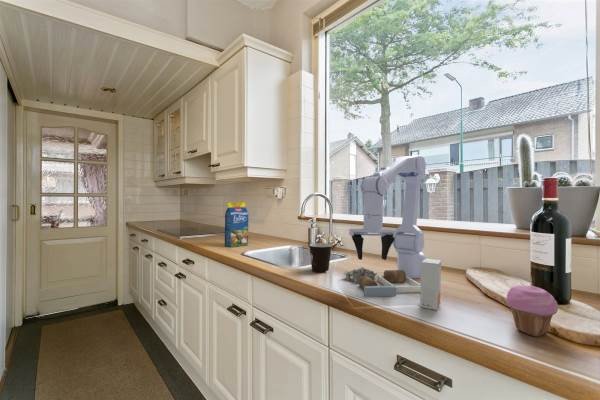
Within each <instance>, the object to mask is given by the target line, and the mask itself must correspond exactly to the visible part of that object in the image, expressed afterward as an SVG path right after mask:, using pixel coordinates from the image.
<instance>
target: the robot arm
mask: <svg viewBox="0 0 600 400" xmlns="http://www.w3.org/2000/svg"><path fill="white" fill-rule="evenodd" d="M426 167H427V163H426V159H425V157H424V156H423V155H422V154H418V155H417V154H416V155H409V156H408V155H407V156H405V155H404V156H396V157H395V158H393V162H392V163H391V164H390V165H389V166H386V165H384V166H383V165H382V166H381V167H380V169H379V170H378V171H377V172H373V174H372V175H371V176H366V177H364V178H363V179H362V180H361V184H360V186H359V187H360V192H361V193H362V194H361V195H362V196H361V197H362V200H363V228H349V229H348V235H349V236H351V239H352V242H353V243H354V247H355V250H356V254H357V259H358V260H361V261H362V260H363V245H364V239H365V238H364V237H363V236H365V237H366V236H373V237H374V236H375V237H376V236H378V237H380V239H381V240H380V241H381V259H382V260H384V261H387V258H388V254H389V251H390V249H391V247H392V246H393V248H394V249H395V252H397V256H396V257H397V258H396V259H397V264H396V265H397V266H396V267H397V268H396V270H404V271H405V273H406V276H407V277H409V278H411V279H421V262H422V261H423V260H425V259H427V258H426V256H425V253H423V252H422V251H423V250H424V248H425V239H424V238H425V237H424V235H425V234H424V232H423V230H421V229H420V228H419V227H418V226H417V224H418V222H417V221H418V211H419V202H420V201H419V200H420V190H421V181H423V180H424V179H425V175H426ZM397 176H398V178H399V179H400V180H401V181H403V182H405V191H404V202H403V211H402V221H401V224H400V225H399V226H398V227H396V228H395V229H387V228H385V229H384V228H383V224H384V223H383V222H384V221H383V220H384V219H383V218H384V217H383V215H384V213H383V212H384V195H386V194H387V192H388V188H389V186H390V185H391V184H392V183H393V182H394V181H395V180H396V178H397Z"/></svg>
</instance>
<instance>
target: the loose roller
mask: <svg viewBox="0 0 600 400" xmlns="http://www.w3.org/2000/svg"><path fill="white" fill-rule="evenodd" d="M358 285H359V287H361V288H362V289H363V290H364V286H379V285H378V282H376V281H375V279H374V280H373V279H371V278H370V277H368V276H366V275H364V276H362V277H360V279H359V283H358Z"/></svg>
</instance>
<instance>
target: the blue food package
mask: <svg viewBox="0 0 600 400" xmlns="http://www.w3.org/2000/svg"><path fill="white" fill-rule="evenodd" d="M224 215H225V216H224V247H227V246H228V248H236V247H244V246H249V211H248V209H247V207H246V202H228V204H227V209H226V210H225V214H224Z"/></svg>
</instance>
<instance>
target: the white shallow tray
mask: <svg viewBox="0 0 600 400" xmlns="http://www.w3.org/2000/svg"><path fill="white" fill-rule="evenodd" d="M377 281H378V282H379V283H381V285H382V286H395V287H396V294H402V293H403V294H404V293H405V294H406V293H407V294H409V293H421V282H420V283H419V282H418V281H416V280H414V279H413V278H409V277H407V276H406V281H405V282H399V283H390V282H388V281H387V280H385V279H384V275H377Z"/></svg>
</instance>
